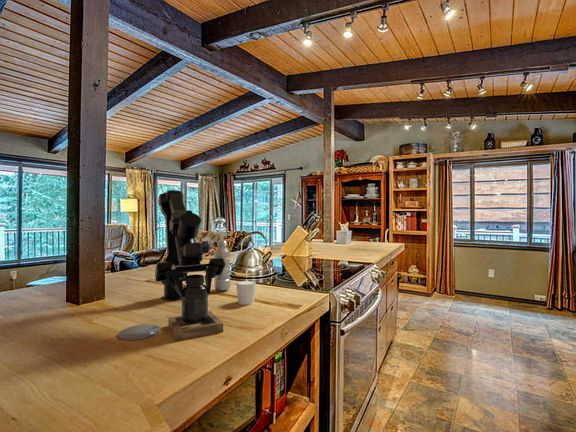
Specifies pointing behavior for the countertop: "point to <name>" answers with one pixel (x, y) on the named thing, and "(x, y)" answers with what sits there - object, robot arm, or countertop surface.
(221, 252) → the plastic bottle
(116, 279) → the countertop surface
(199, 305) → the supplement bottle
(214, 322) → the brown flat square frame
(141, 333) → the slate coaster
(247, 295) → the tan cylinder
